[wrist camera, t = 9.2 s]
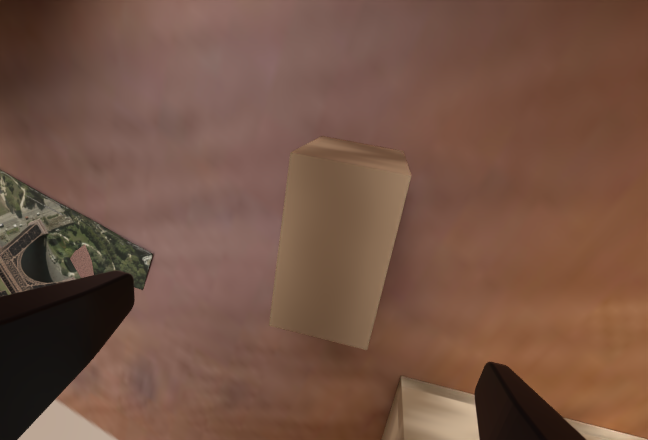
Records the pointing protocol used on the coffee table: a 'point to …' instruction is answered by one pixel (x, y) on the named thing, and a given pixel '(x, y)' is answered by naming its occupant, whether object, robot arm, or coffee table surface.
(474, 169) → the coffee table surface
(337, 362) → the coffee table surface
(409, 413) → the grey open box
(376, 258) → the wooden block
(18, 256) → the eiffel tower figurine
